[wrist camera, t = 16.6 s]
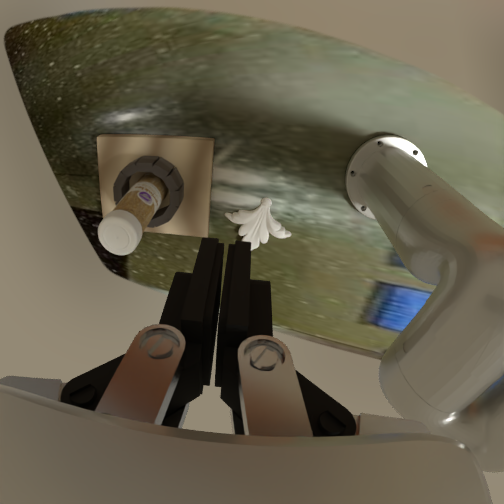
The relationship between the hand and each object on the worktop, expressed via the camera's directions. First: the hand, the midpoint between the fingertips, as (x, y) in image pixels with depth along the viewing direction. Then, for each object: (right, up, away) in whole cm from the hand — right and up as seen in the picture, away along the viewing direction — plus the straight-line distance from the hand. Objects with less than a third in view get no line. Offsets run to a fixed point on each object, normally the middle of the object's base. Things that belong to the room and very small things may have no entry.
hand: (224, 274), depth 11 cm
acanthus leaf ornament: (+2, +5, +36) cm, 36 cm away
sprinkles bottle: (-12, +10, +31) cm, 34 cm away
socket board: (-13, +10, +32) cm, 36 cm away
